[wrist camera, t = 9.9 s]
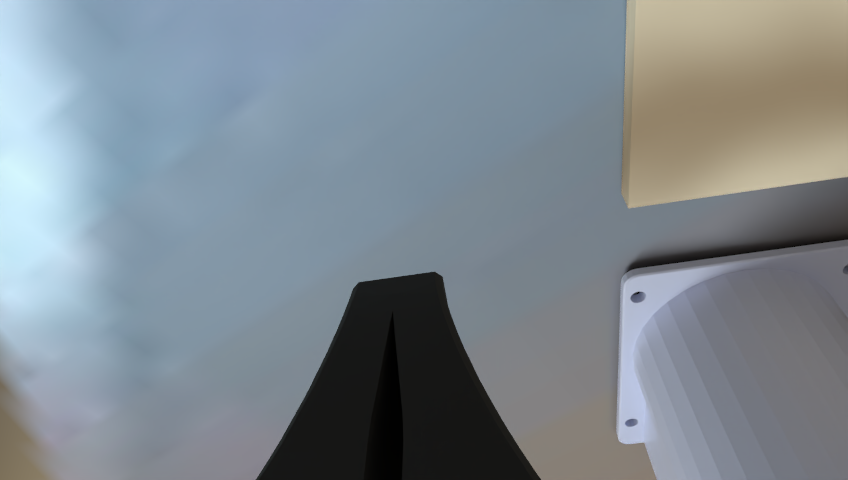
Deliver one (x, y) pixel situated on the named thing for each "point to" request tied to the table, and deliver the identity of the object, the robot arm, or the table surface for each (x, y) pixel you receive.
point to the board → (733, 96)
